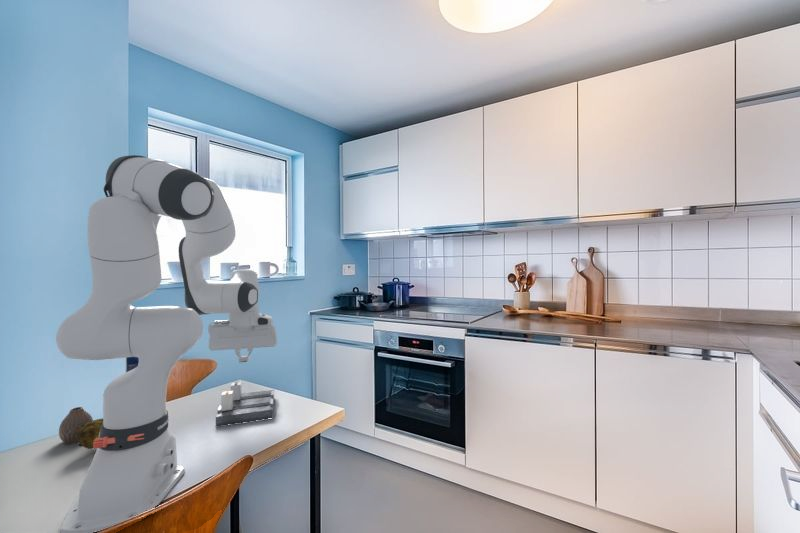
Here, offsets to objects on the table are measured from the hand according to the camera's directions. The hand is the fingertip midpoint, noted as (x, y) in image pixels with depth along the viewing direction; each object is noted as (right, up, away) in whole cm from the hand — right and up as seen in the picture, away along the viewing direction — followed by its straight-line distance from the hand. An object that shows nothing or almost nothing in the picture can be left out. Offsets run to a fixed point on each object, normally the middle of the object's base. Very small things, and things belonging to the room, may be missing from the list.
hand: (244, 361), depth 110 cm
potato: (-27, -17, -20) cm, 38 cm away
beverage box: (-32, -17, -2) cm, 37 cm away
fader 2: (-5, -14, +5) cm, 16 cm away
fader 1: (-4, -14, -3) cm, 15 cm away
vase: (-39, -17, -16) cm, 46 cm away
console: (0, -17, +2) cm, 17 cm away
